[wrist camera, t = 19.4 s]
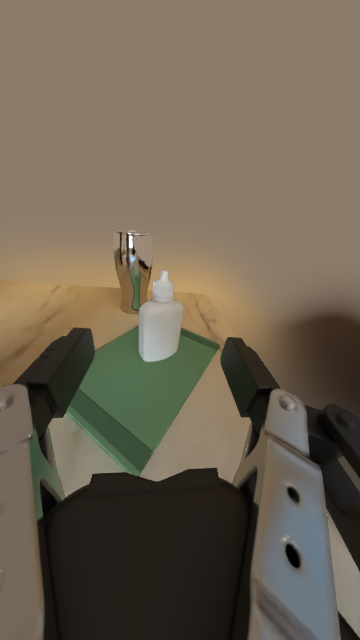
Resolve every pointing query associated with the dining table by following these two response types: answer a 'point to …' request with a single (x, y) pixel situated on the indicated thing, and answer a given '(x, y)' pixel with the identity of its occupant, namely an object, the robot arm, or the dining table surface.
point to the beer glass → (133, 267)
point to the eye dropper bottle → (160, 322)
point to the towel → (137, 395)
